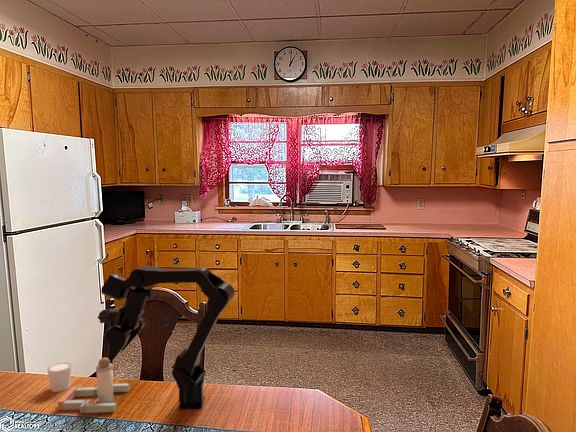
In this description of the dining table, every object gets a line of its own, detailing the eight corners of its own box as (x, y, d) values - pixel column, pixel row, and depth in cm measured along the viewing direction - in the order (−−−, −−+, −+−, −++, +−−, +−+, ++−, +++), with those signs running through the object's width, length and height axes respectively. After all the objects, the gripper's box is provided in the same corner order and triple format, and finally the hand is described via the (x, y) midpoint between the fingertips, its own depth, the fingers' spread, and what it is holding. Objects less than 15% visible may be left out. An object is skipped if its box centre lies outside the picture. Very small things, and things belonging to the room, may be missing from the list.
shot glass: (43, 389, 131) (42, 368, 131) (64, 380, 137) (63, 360, 137) (57, 394, 128) (55, 373, 128) (77, 385, 134) (76, 364, 134)
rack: (129, 389, 131) (129, 381, 131) (114, 411, 119) (114, 403, 118) (75, 390, 131) (75, 383, 130) (54, 413, 118) (54, 405, 117)
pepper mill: (116, 396, 127) (114, 354, 126) (110, 404, 123) (108, 361, 121) (101, 396, 127) (99, 354, 126) (95, 404, 122) (93, 361, 121)
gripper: (119, 292, 132) (103, 337, 131) (95, 304, 113) (76, 357, 113) (152, 302, 132) (136, 348, 132) (133, 316, 114) (114, 369, 113)
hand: (116, 354), depth 122 cm, fingers open, 9 cm apart
